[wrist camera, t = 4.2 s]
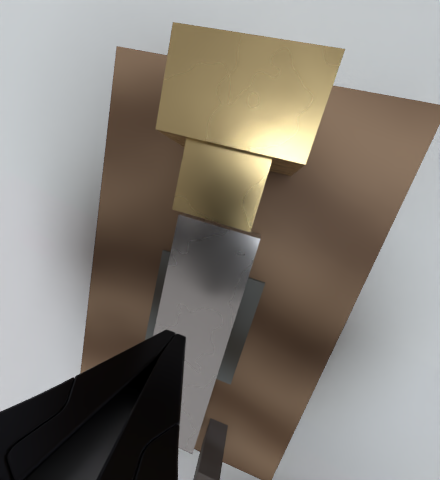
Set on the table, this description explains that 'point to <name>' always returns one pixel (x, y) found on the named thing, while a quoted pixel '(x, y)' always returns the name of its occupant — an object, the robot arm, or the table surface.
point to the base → (266, 259)
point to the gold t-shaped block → (240, 115)
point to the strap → (203, 306)
